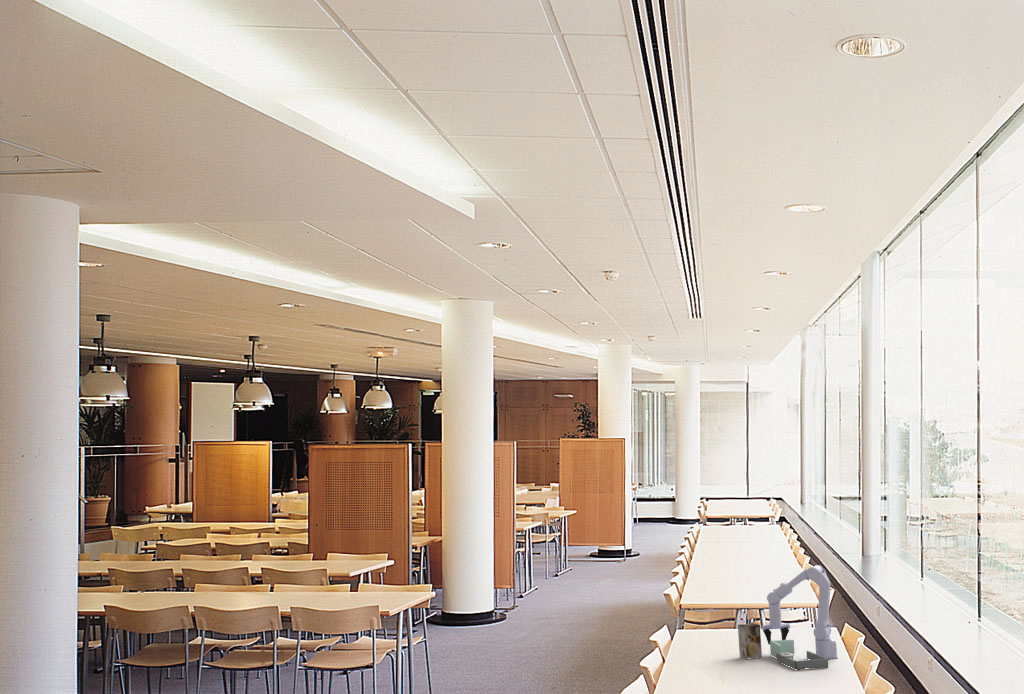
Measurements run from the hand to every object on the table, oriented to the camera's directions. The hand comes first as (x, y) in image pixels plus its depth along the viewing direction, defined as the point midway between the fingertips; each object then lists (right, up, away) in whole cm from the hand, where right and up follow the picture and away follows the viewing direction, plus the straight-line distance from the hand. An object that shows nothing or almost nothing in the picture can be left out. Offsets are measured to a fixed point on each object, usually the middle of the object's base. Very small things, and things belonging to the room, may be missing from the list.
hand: (776, 643), depth 529 cm
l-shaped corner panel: (+3, -4, -10) cm, 12 cm away
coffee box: (-15, -5, -8) cm, 17 cm away
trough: (+6, -3, -27) cm, 27 cm away
